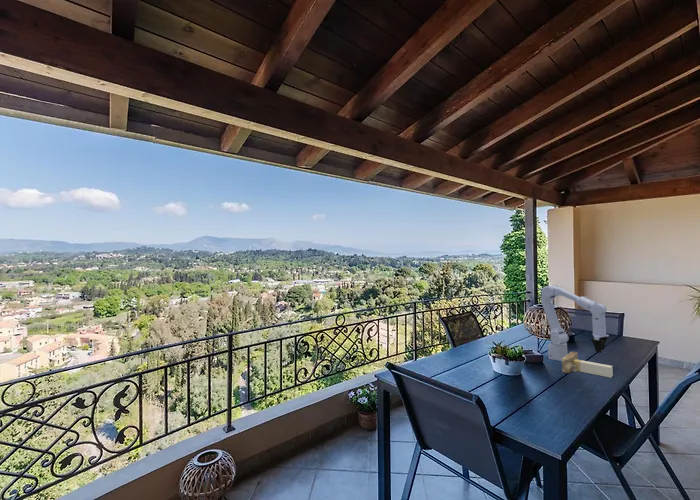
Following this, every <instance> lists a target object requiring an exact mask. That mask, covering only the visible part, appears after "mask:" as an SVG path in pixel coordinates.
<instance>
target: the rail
mask: <svg viewBox="0 0 700 500" xmlns="http://www.w3.org/2000/svg"><path fill="white" fill-rule="evenodd" d="M573 363H574V365H576V369H577V371H576V372H580V373H585V374H590V375H591V374H592V375H596V376H601V377H605V378H610V379H611V378H613V376H614V373H613V371H614V370H613V369H614V368H613V365H610V364H604V363H598V362H593V361H587V360H583V359H578V360H577V359H575V360H574V361H573Z"/></svg>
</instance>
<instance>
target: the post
mask: <svg viewBox="0 0 700 500" xmlns="http://www.w3.org/2000/svg"><path fill="white" fill-rule="evenodd" d="M575 359H577V360H579V356H578V352H576V351H570V352H569V353H567V355H566V356H565V357H563V358H562V361H561V369H562V371H561V372H562V373H567V374H570V373H572V372H573V373H577V372H578V371H577V369H576V365H574V363H573V361H574V360H575Z"/></svg>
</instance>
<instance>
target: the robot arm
mask: <svg viewBox="0 0 700 500" xmlns="http://www.w3.org/2000/svg"><path fill="white" fill-rule="evenodd" d="M540 292H541V297H540V302H541V306H542V308H543V310H544V311H543V312H544V314H545V316H546V319H547V323H548V325H549V327H550V332H549V334H550V342H549V343H548V344H547V345H548V347H547V352H548V355H547V356H548V359H549V360H552V361H558V362H559V361H560V362H562V358H563V357H565V356H566V355H567V354H568V343H567V342H569V339H570V337H569V335H568V334H567V333H566V330H565V329H564V328H563V327H562V326H561V324H560V321H559V317H558V316H557V313H556V310H555V308H554V304H553V301H554V299H555V298H556V297H557V296H562V297H564V298H566V299H569V300H570V301H573V302H576V305H577V306H579V307H580V308H583V309H585V310H587V311H590V313H591V314H592V315H591V321H592V324H591V325H592V336H593V337H592V338H590V340H591V342H592V345H593V346H594V347H593V348H594V350H595V352H596V353H600V354H602V350H603V351H604V350H605V348H606V343H607V340H608V338H609V336H610V334H607V330H606V329H607V327H606V326H607V325H606V313H607V307H606V305H604V304H603V303H600V302H597V301H594V300H592V299H590V298H588V296H578V295H576V294H575V293H573V292H571V291H569V290H567V289H565V288H563V287H562V286H559V285H556V284H552V285H546V286H544V287H543V288H542V289H541V290H540Z"/></svg>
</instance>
